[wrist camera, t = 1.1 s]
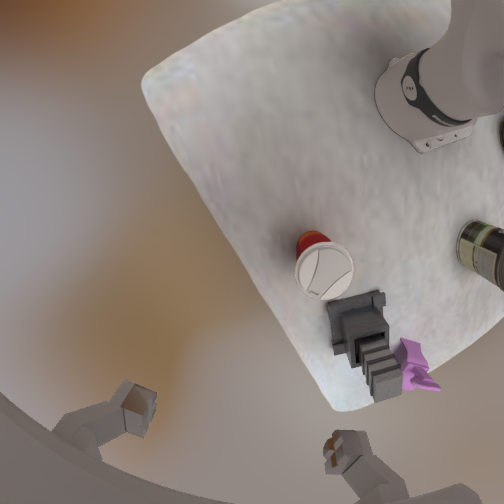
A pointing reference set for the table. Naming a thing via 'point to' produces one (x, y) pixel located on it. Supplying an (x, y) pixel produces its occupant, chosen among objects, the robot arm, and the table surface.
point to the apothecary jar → (502, 134)
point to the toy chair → (416, 369)
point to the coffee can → (482, 251)
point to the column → (379, 367)
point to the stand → (357, 322)
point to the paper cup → (322, 266)
